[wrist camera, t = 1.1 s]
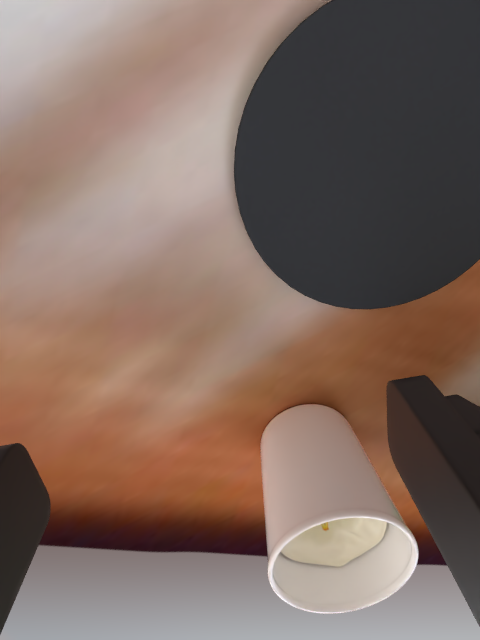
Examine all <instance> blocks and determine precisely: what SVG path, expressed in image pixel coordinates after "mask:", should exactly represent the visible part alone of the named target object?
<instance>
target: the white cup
mask: <svg viewBox="0 0 480 640" xmlns="http://www.w3.org/2000/svg"><path fill="white" fill-rule="evenodd" d="M260 453H261V470H262V484H263V498H264V512H265V525H266V539H267V553H268V578H269V582H270V585H271V587H272V588H273V590H274V592H275V593H276V594H277V595H278V596H279V597H280V598H281V599H282V600H283V601H285V602H286V603H288V604H289V605H291V606H293V607H296V608H299V609H301V610H305V611H309V612H315V613H343V612H349V611H354V610H359V609H362V608H365V607H368V606H371V605H373V604H376V603H378V602H380V601H382V600H384V599H386V598H387V597H389V596H391V595H392V594H393V593H395V592H396V591H397V590H398V589H400V588H401V587H402V586H403V585H404V584H405V583H406V582H407V580H408V579H409V578H410V577H411V575H412V574H413V572H414V570H415V568H416V565H417V561H418V546H417V542H416V540H415V538H414V536H413V534H412V532H411V531H410V530H409V528H408V527H407V525H406V524H405V522H404V520H403V518H402V517H401V515H400V513H399V511H398V509H397V508H396V506H395V504H394V502H393V500H392V499H391V497H390V495H389V493H388V491H387V490H386V488H385V486H384V484H383V482H382V481H381V479H380V477H379V475H378V473H377V472H376V470H375V468H374V466H373V464H372V463H371V461H370V459H369V457H368V455H367V454H366V452H365V450H364V448H363V447H362V445H361V443H360V441H359V439H358V438H357V436H356V434H355V432H354V431H353V429H352V427H351V426H350V424H349V423H348V421H347V420H346V419H345V417H344V416H343V415H342V414H340V413H339V412H338V411H336V410H334V409H332V408H330V407H327V406H324V405H318V404H305V405H299V406H295V407H292V408H289V409H287V410H285V411H283V412H281V413H280V414H278V415H277V416H276V417H274V418H273V419H272V420H271V421H270V422H269V424H268V425H267V426H266V428H265V430H264V432H263V434H262V438H261V444H260Z"/></svg>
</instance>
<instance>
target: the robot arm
mask: <svg viewBox="0 0 480 640" xmlns="http://www.w3.org/2000/svg"><path fill="white" fill-rule="evenodd" d="M387 427H388V443H389V448H390V452H391V456H392V459H393V461H394V464H395V466H396V468H397V470H398V472H399V474H400V476H401V478H402V480H403V482H404V483H405V485H406V487H407V489H408V491H409V493H410V495H411V497H412V499H413V501H414V502H415V504H416V506H417V508H418V510H419V512H420V514H421V516H422V518H423V520H424V522H425V523H426V525H427V527H428V529H429V531H430V533H431V535H432V537H433V539H434V541H435V542H436V544H437V546H438V548H439V550H440V552H441V554H442V556H443V558H444V560H445V562H446V563H447V565H448V567H449V569H450V571H451V573H452V575H453V577H454V579H455V581H456V582H457V584H458V586H459V588H460V590H461V592H462V594H463V596H464V597H465V600H466V601H467V603H468V605H469V607H470V609H471V611H472V613H473V615H474V617H475V619H476V620H477V622H478V624H479V626H480V407H479V406H477V405H475V404H473V403H471V402H470V401H468V400H466V399H464V398H462V397H461V396H459V395H451V396H444V395H443V394H442V393H441V392H440V390H439V389H438V388H437V387H436V386H435V385H434V383H433V382H432V381H431V380H430V379H429V378H428V377H427V376H425V375H421V376H415V377H410V378H404V379H398V380H392V381H389V382H388V383H387ZM49 517H50V498H49V494H48V492H47V489H46V487H45V485H44V483H43V481H42V479H41V477H40V475H39V473H38V471H37V469H36V467H35V465H34V463H33V461H32V459H31V457H30V455H29V453H28V451H27V450H26V448H25V447H24V446H23V445H22V444H19V443H15V444H9V445H4V446H0V634H1V632H2V629H3V627H4V624H5V622H6V620H7V617H8V615H9V613H10V610H11V608H12V606H13V603H14V601H15V599H16V596H17V594H18V592H19V589H20V587H21V585H22V582H23V580H24V577H25V575H26V573H27V570H28V568H29V566H30V564H31V561H32V559H33V557H34V554H35V552H36V549H37V547H38V545H39V542H40V540H41V538H42V535H43V533H44V531H45V528H46V526H47V524H48V521H49Z"/></svg>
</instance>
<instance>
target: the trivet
mask: <svg viewBox="0 0 480 640" xmlns="http://www.w3.org/2000/svg"><path fill="white" fill-rule="evenodd" d="M234 178H235V190H236V196H237V201H238V206H239V210H240V214H241V217H242V220H243V222H244V225H245V228H246V231H247V233H248V235H249V237H250V239H251V241H252V243H253V245H254V247H255V249H256V250H257V252H258V253H259V255H260V256H261V257H262V259H263V260H264V262H265V263H266V264H267V265H268V266H269V267H270V269H271V270H272V271H273V272H274V273H275V274H276V275H277V276H278V277H279V278H281V279H282V280H283V281H284V282H285V283H287V284H288V285H289V286H290V287H292V288H294V289H295V290H297V291H298V292H300V293H302V294H303V295H305V296H308V297H310V298H312V299H314V300H317V301H319V302H322V303H326V304H329V305H333V306H337V307H343V308H350V309H377V308H386V307H391V306H396V305H400V304H404V303H407V302H410V301H413V300H416V299H419V298H422V297H424V296H426V295H428V294H430V293H432V292H435V291H437V290H438V289H440V288H442V287H443V286H445V285H447V284H448V283H450V282H452V281H453V280H455V279H456V278H457V277H459V276H460V275H461V274H463V273H464V272H466V271H467V270H468V269H469V268H470V267H472V266H473V265H474V264H475V263H476V262H477V261H478V260H479V259H480V0H332V1H330V2H329V3H327V4H325V5H324V6H322V7H321V8H319V9H318V10H317V11H316V12H314V13H313V14H312V15H310V16H309V17H308V18H307V19H305V20H304V21H303V22H302V23H301V24H300V25H299V26H298V27H297V28H296V29H295V30H294V31H293V32H292V33H291V34H290V35H289V36H288V37H287V38H286V39H285V40H284V41H283V42H282V43H281V44H280V46H279V47H278V48H277V50H276V51H275V52H274V54H273V55H272V56H271V58H270V59H269V60H268V62H267V63H266V65H265V67H264V68H263V70H262V72H261V73H260V75H259V77H258V79H257V80H256V82H255V84H254V86H253V89H252V91H251V93H250V96H249V98H248V100H247V103H246V105H245V108H244V111H243V115H242V118H241V122H240V125H239V129H238V135H237V141H236V147H235V160H234Z"/></svg>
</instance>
